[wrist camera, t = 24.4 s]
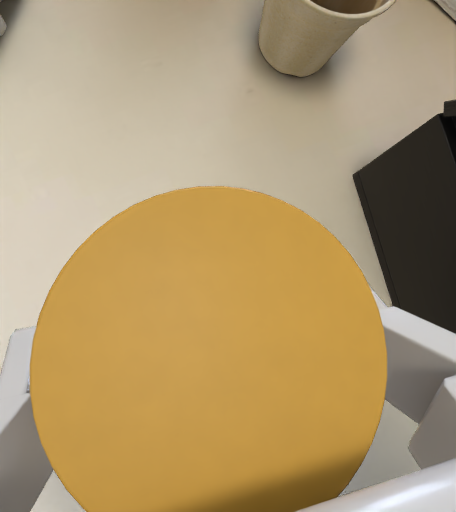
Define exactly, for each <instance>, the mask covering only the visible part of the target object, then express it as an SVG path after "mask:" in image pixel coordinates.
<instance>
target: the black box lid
mask: <svg viewBox="0 0 456 512" xmlns="http://www.w3.org/2000/svg"><path fill="white" fill-rule="evenodd" d="M443 116H444V117H453V116H456V100H451V101H445V102H444V114H443Z"/></svg>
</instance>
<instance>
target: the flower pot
mask: <svg viewBox="0 0 456 512" xmlns="http://www.w3.org/2000/svg"><path fill="white" fill-rule="evenodd" d="M395 1H396V0H265V1H264V7H263V13H262V18H261V24H260V28H259V46H260V50H261V52H262V54H263V56H264V58H265V59H266V60H267V62H268V63H269V64H270V65H271V66H272V67H273V68H275V69H276V70H277V71H279V72H281V73H285V74H292V75H295V76H298V77H304V76H308V75H311V74H313V73H315V72H317V71H318V70H319V69H320V68H321V67H322V66H323V65H324V64H325V63H326V62H327V61H328V60H329V59H330V57H331V56H332V55H333V54H334V53H335V52H336V51H337V50H338V49H339V48H340V47H341V46H342V45H343V44H344V43H345V42H346V41H347V39H348V38H349V37H350V36H351V35H352V34H353V33H354V32H355V31H356V30H357V29H358V28H359V27H360V26H362V25H364V24H365V23H367V22H369V21H370V20H371V19H372V18H374V17H376V16H378V15H380V14H382V13H383V12H385V11H386V10H388V9H389V8H390V7H391V6H392V5H393V4H394V3H395Z"/></svg>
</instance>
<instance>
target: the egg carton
mask: <svg viewBox="0 0 456 512" xmlns="http://www.w3.org/2000/svg"><path fill="white" fill-rule="evenodd" d="M1 1H2V0H0V2H1ZM5 29H6V23H5V21H4V20H3V18H2V16H1V15H0V36H2V35H3V34H4V31H5Z"/></svg>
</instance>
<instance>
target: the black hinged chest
mask: <svg viewBox="0 0 456 512" xmlns="http://www.w3.org/2000/svg"><path fill="white" fill-rule="evenodd" d="M443 114H444V113H440V114H437V115H436V116H434V117H433V118H431V119H430V120H429V121H427V122H426V123H425V124H423V125H422V126H420V127H419V128H418V129H416V130H415V131H413V132H412V133H411V134H409V135H408V136H406V137H405V138H404V139H402V140H401V141H399V142H398V143H397V144H395V145H394V146H392V147H391V148H390V149H388V150H387V151H385V152H384V153H383V154H381V155H380V156H379V157H377V158H376V159H374V160H373V161H372V162H370V163H369V164H367V165H366V166H365V167H363V168H362V169H360V170H359V171H358V172H356V173H355V174H354V175H353V178H354V181H355V184H356V187H357V191H358V194H359V197H360V200H361V203H362V207H363V210H364V213H365V216H366V219H367V223H368V226H369V229H370V232H371V235H372V239H373V242H374V245H375V248H376V251H377V255H378V258H379V261H380V264H381V267H382V271H383V274H384V277H385V280H386V283H387V287H388V290H389V293H390V296H391V299H392V303H393V306H395V307H397V308H399V309H401V310H404V311H406V312H408V313H410V314H413V315H415V316H417V317H419V318H421V319H424V320H426V321H428V322H430V323H432V324H435V325H437V326H439V327H441V328H444V329H446V330H448V331H450V332H452V333H455V334H456V116H453V117H444V116H443Z"/></svg>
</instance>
